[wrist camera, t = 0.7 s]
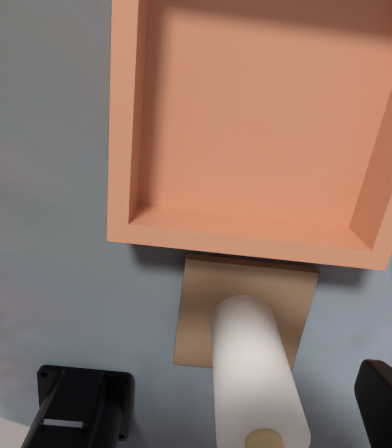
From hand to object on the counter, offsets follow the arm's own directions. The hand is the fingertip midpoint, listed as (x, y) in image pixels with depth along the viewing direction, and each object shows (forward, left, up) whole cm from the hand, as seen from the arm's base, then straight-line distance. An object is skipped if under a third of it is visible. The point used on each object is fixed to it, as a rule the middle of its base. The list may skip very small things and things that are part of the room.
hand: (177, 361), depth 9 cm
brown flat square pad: (-8, -4, -13) cm, 15 cm away
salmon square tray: (+5, -3, -13) cm, 14 cm away
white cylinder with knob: (-8, -4, -12) cm, 15 cm away
